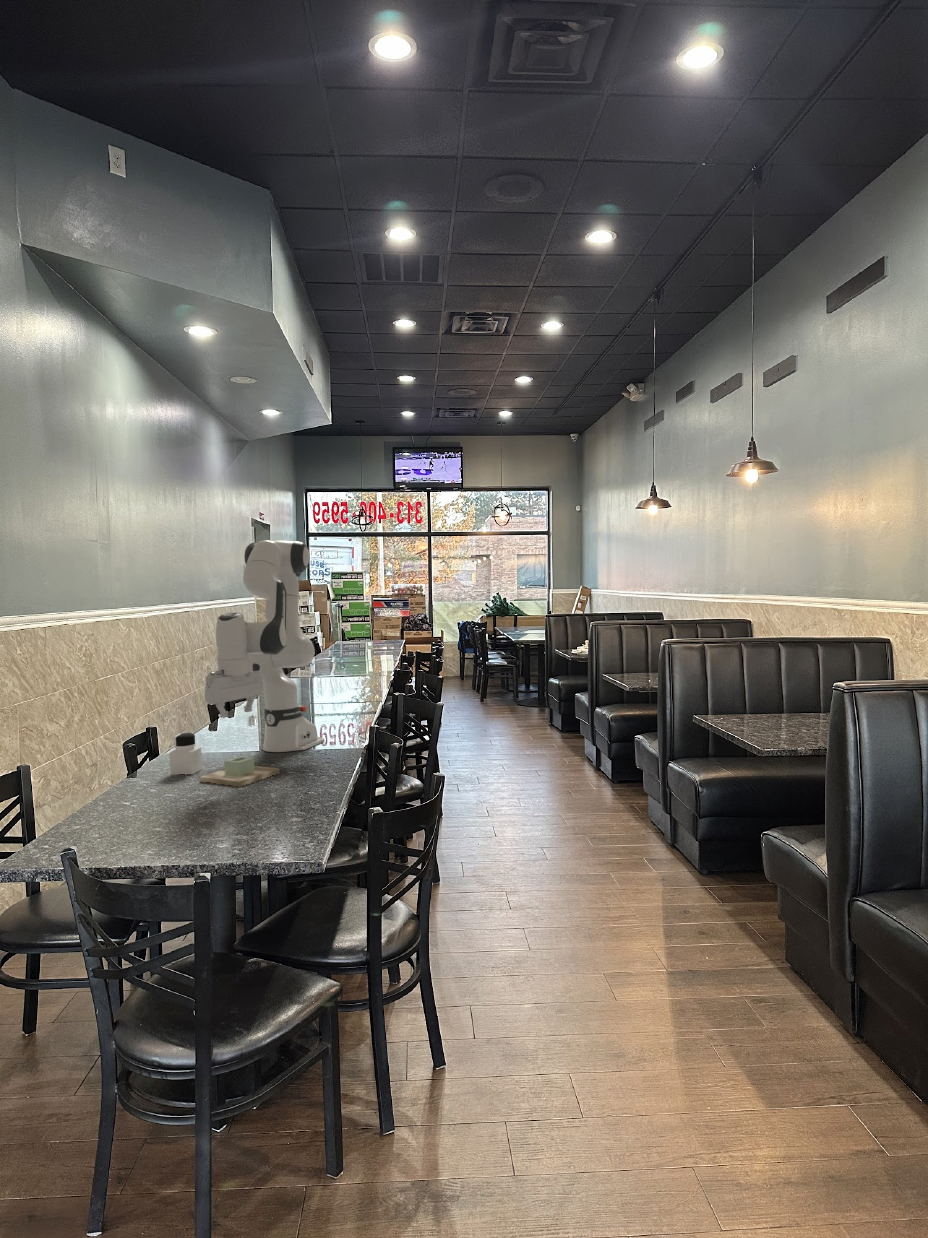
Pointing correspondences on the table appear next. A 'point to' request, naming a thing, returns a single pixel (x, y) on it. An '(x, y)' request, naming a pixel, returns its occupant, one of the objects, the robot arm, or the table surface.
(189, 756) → the medicine bottle
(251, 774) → the base plate
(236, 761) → the green block with hole
